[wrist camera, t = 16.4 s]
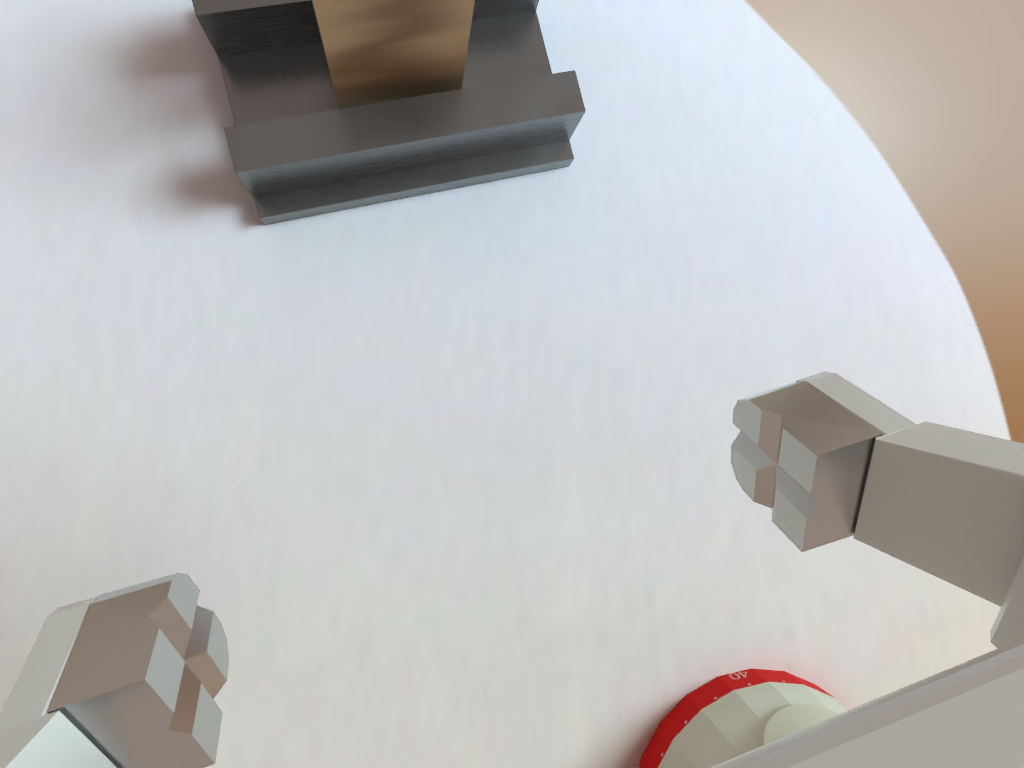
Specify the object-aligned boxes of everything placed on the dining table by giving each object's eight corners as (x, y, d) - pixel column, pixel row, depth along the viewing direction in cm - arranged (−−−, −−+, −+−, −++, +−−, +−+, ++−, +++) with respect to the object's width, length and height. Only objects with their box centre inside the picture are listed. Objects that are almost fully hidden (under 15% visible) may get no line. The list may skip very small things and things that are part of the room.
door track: (264, 225, 29) (241, 195, 26) (210, 10, 30) (178, -52, 26) (568, 166, 32) (590, 131, 28) (518, -31, 32) (532, -93, 28)
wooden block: (341, 119, 29) (299, -53, 19) (326, 61, 29) (275, -146, 19) (460, 99, 30) (486, -76, 20) (445, 43, 30) (463, -164, 20)
